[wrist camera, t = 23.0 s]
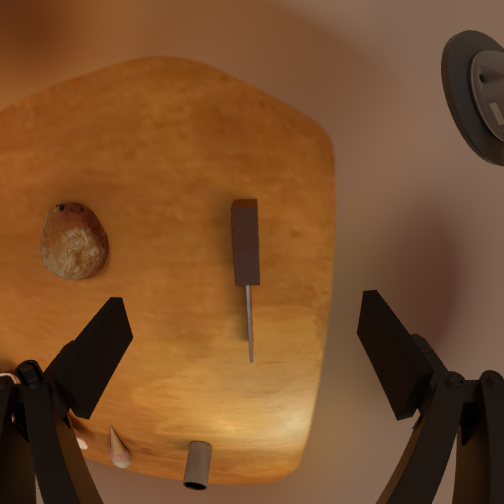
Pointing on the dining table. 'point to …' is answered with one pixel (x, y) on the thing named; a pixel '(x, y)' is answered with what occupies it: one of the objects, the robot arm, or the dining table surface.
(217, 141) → the dining table surface
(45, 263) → the bread roll
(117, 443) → the ice cream cone
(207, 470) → the grey cylinder
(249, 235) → the knife
